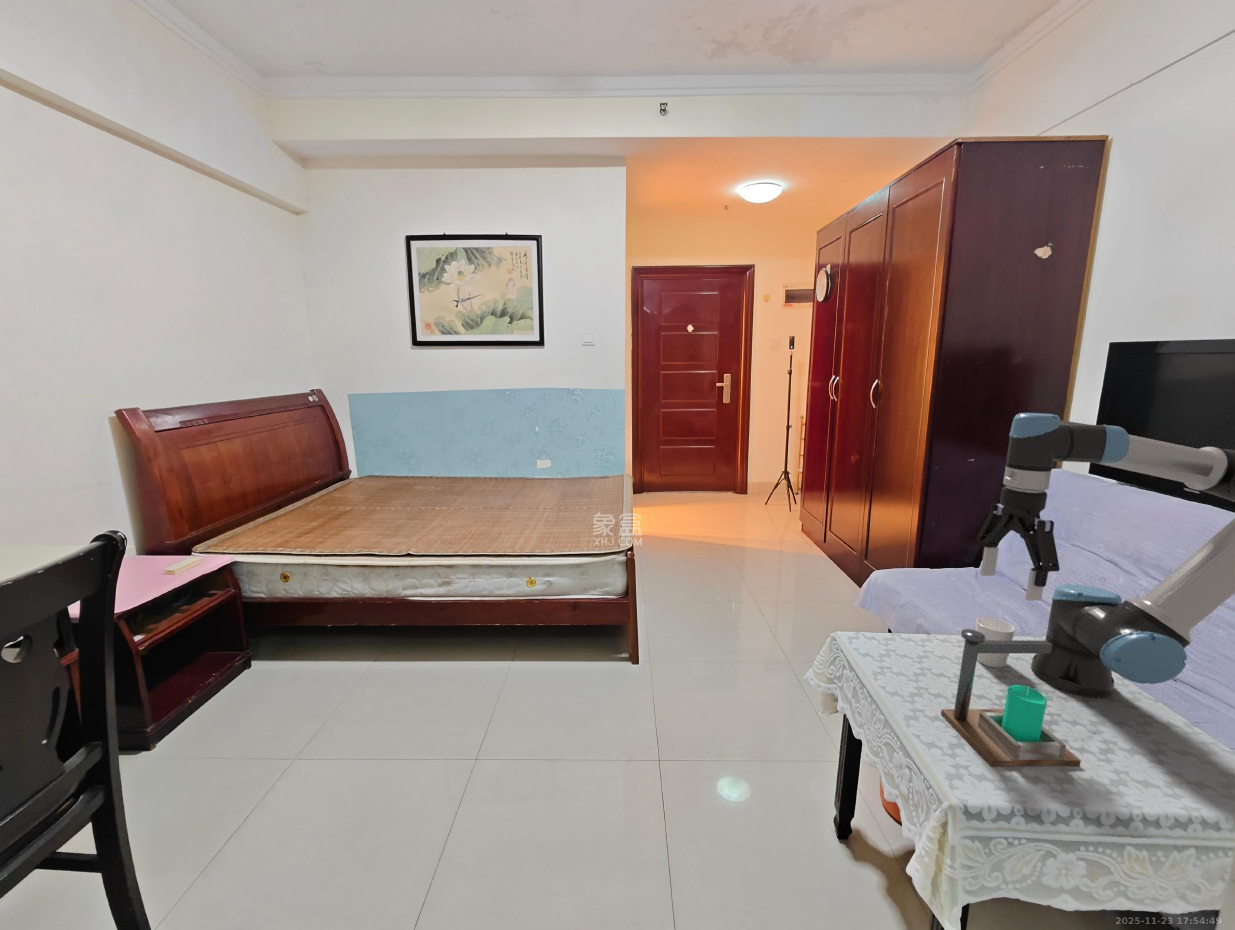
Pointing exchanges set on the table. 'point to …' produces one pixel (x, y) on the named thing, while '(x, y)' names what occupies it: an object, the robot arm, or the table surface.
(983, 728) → the board
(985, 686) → the table surface
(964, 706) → the bar
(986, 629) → the white cup
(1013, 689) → the candle
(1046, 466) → the robot arm
